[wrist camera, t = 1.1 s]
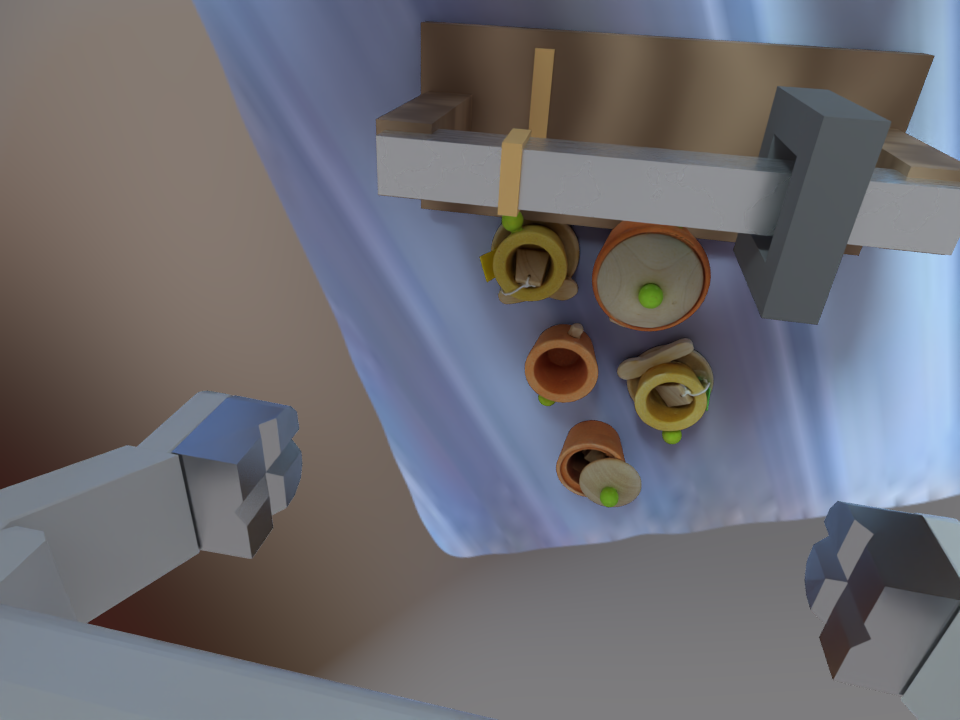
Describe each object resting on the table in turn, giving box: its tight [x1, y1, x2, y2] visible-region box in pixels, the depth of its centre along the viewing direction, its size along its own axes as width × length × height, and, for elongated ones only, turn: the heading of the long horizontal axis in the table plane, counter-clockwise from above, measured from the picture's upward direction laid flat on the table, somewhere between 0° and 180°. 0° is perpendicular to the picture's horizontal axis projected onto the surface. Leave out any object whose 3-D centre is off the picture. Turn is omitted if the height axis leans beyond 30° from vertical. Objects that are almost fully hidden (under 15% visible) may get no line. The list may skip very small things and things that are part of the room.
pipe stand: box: [376, 21, 960, 256], centre depth 36 cm, size 30×12×14 cm, turn 87°
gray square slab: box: [733, 86, 891, 325], centre depth 31 cm, size 2×9×9 cm, turn 177°
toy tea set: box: [479, 211, 713, 507], centre depth 47 cm, size 26×16×10 cm, turn 18°
